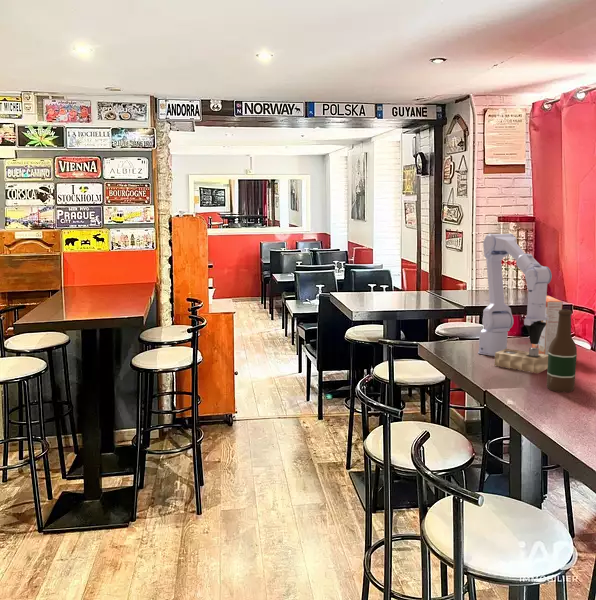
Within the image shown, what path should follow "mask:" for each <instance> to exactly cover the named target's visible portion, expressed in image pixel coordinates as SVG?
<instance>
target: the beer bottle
mask: <svg viewBox="0 0 596 600" xmlns="http://www.w3.org/2000/svg"><path fill="white" fill-rule="evenodd" d="M558 314H559V320H558V328H557V333H556V337H555V338H554V339H553V340H552V342H551V344H550V346H549V352H548V368H547V369H546V371H547V374H546V388H547V389H549V391H551V390H552V392H556V391H557V392H558V393H571V392H572V391H574V390H575V383H576V368H577V356H578V353H577V351H578V350H577V345H576V342H575V340H574V339H573V338H572V314H573V311H572V310H570V309H563V308H562V310H559V312H558Z"/></svg>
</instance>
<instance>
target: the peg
mask: <svg viewBox="0 0 596 600" xmlns="http://www.w3.org/2000/svg"><path fill="white" fill-rule="evenodd" d="M528 352H529V357H535V358H538V355H539V349H538V348H532V347H529V348H528Z"/></svg>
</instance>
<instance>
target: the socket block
mask: <svg viewBox="0 0 596 600" xmlns="http://www.w3.org/2000/svg"><path fill="white" fill-rule="evenodd" d="M507 351H512V352H515V354H510V353H506V352H507ZM495 365H496V366H495ZM494 366H495V367H499V366H502V367H501V368H504V367H507V369H510V368H513V369H512V370H516V369H519V370H518V371H521V370H524V371H523V372H527V371H530V372H529V373H533V372H534V373H533V374H539V373H542V372H544V371H545V370H546V371H547V368H548V355H544V354H539V355H538V358H535V357H529V351H524V350H519V349H518V350H517V349H513V348H507V349H504V350H501V351H499V352H496V353H495V356H494Z"/></svg>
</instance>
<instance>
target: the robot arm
mask: <svg viewBox="0 0 596 600" xmlns="http://www.w3.org/2000/svg"><path fill="white" fill-rule="evenodd" d="M517 240H518V239H517V237H515V235H514V234H513V233H488V234H486V235H485V237H484V239H483V241H482V245H483V256H484V258H485V260H486V274H487V285H488V288H487V289H488V298H489V299H488V300H489V305H487V306H486V307H485V308H484V309H482V310H483V313H482V318H481V319H482V320H481V321H482V326H483V328H482V329H481V330H480V334H479V335H478V336H479V337H478V352H477V354H480V355H485V356H486V355H487V356H491V357H495V353H496V352H499V351H501V350H504V349H508V333H509V331H510V329H511V328H513V325H514V316H513V313H512V308H511V307H510V306H509V305H507V304H506V303H505V294H504V293H505V291H504V282H503V281H504V280H503V269H502V267H503V265H502V261H503V260H504V258H505V257H506V258H507V257H508V255H509V256H510V257H512V258H513V259H514V260H515V261H516V263H515V264H516V267H517V268H518V269H519V270H520V271H521V272H522V273H523V274H524V276H525V281H526V288H527V307H526V310H527V311H526V315H525V318H524V319H523V324H524V326H525V328H526V329H527V332H528V337H529V343H530V344H531V345H532V344H538V343H539V340H540V336H541V333H542V331H543V329H544V327H545V326H546V323H545V322H541V321H542V320H549V318H548V317H547V314H545V312H546V296H548V293H547V292H548V284H550V283H551V281H552V278H553V277H552V276H553V275H552V271H551V268H550V267H548V266H543V265H541V264H540V263H539V262H538V261H537V260H536V259H535V258H534V255H533V254H531V253H525V252H524V251H523V249H522V248H521V247H520V246H519V245H518V242H517Z"/></svg>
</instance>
